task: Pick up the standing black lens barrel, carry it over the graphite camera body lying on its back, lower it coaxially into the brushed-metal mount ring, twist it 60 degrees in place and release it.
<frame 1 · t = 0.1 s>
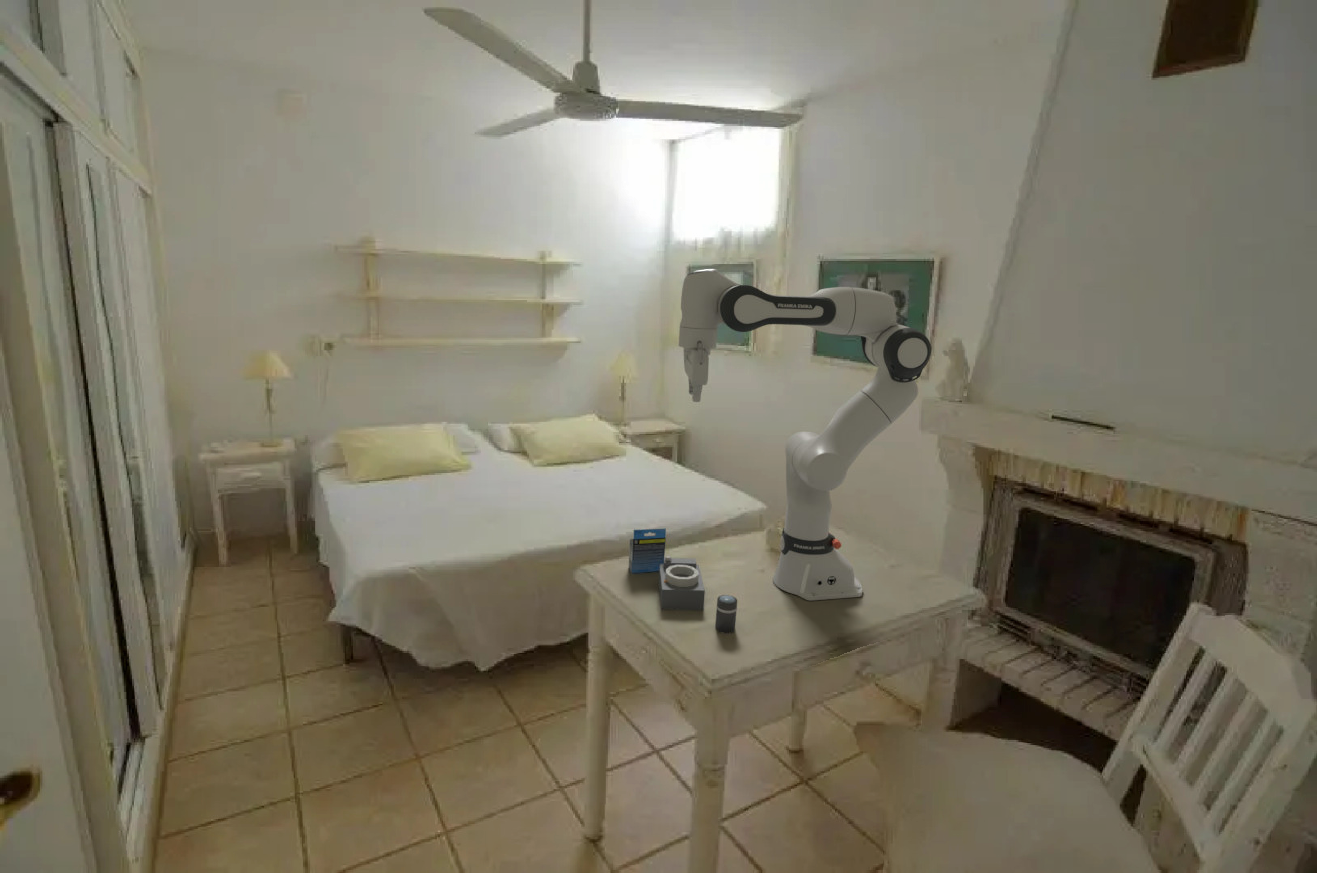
hand: (694, 397, 159), 48 cm above the table, fingers open, 8 cm apart
lens: (725, 628, 148), on the table
camera body: (680, 595, 162), on the table
label tape box: (646, 570, 176), on the table
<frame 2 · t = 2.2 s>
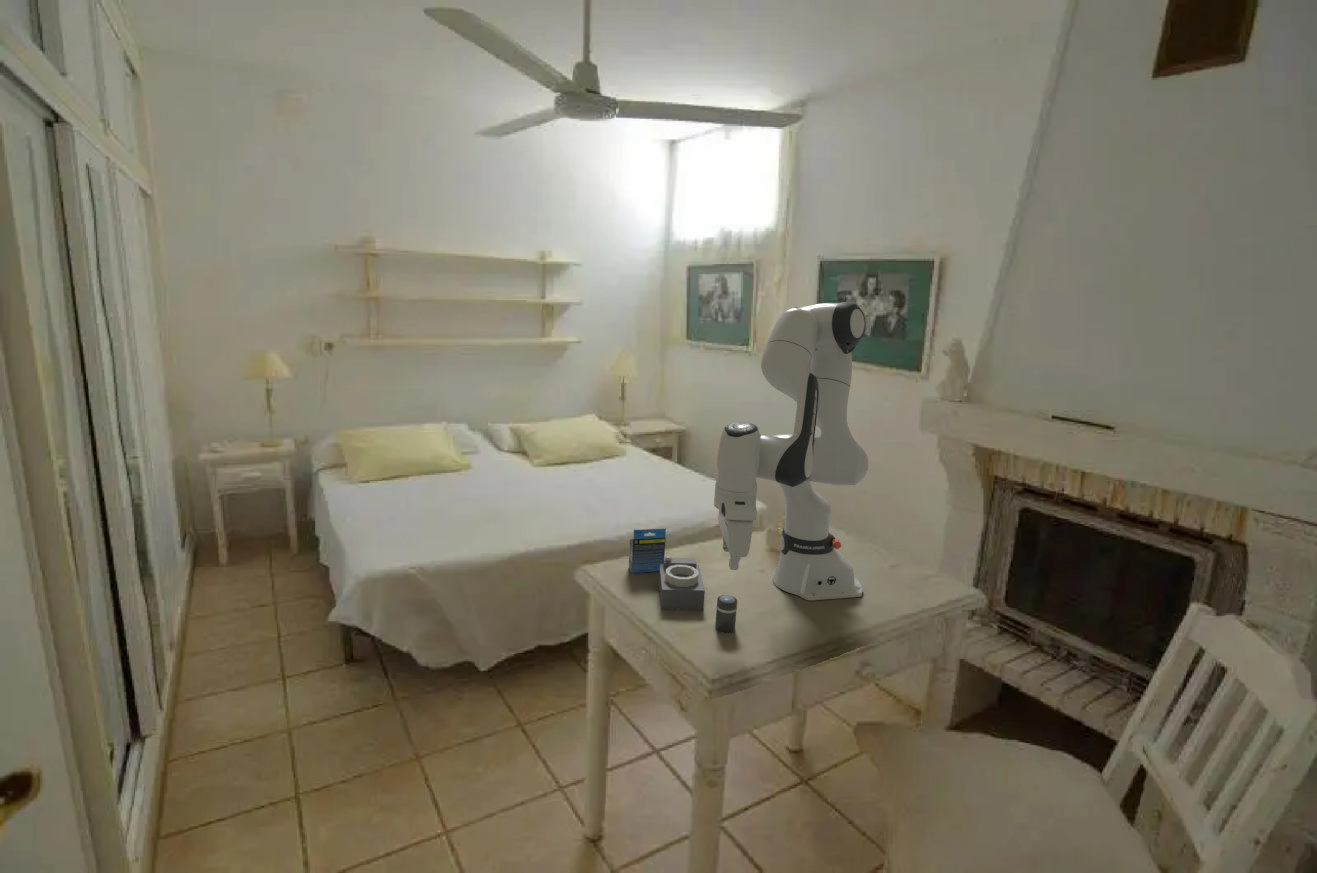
hand: (730, 559, 144), 17 cm above the table, fingers open, 8 cm apart
nothing on the table moved.
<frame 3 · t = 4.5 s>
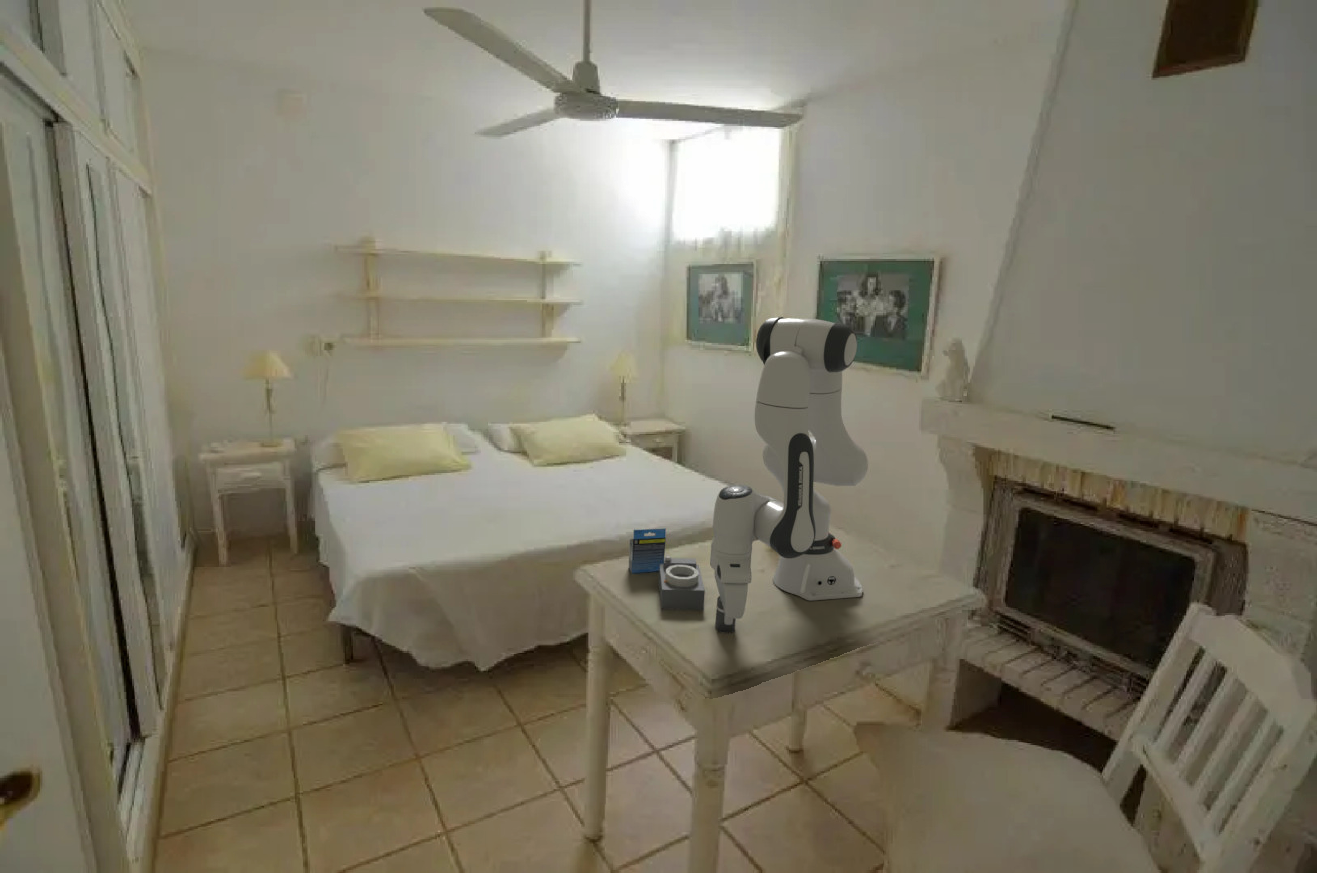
hand: (726, 616, 148), 3 cm above the table, fingers closed on lens, 4 cm apart
lens: (724, 628, 148), on the table, touching gripper
everything else where it was.
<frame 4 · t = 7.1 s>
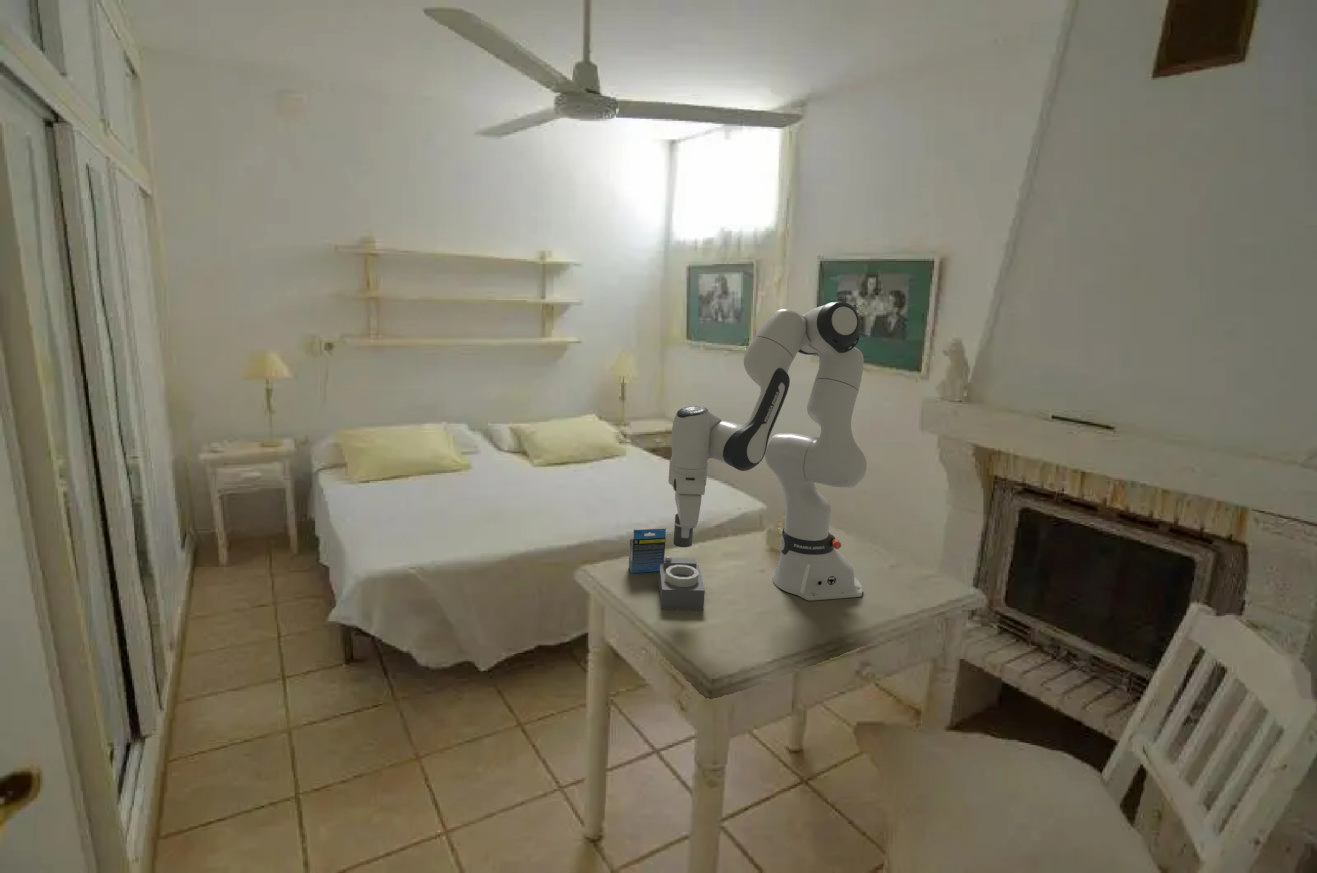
hand: (683, 532, 157), 17 cm above the table, fingers closed on lens, 4 cm apart
lens: (682, 543, 157), point 14 cm above the table, touching gripper
everything else where it was.
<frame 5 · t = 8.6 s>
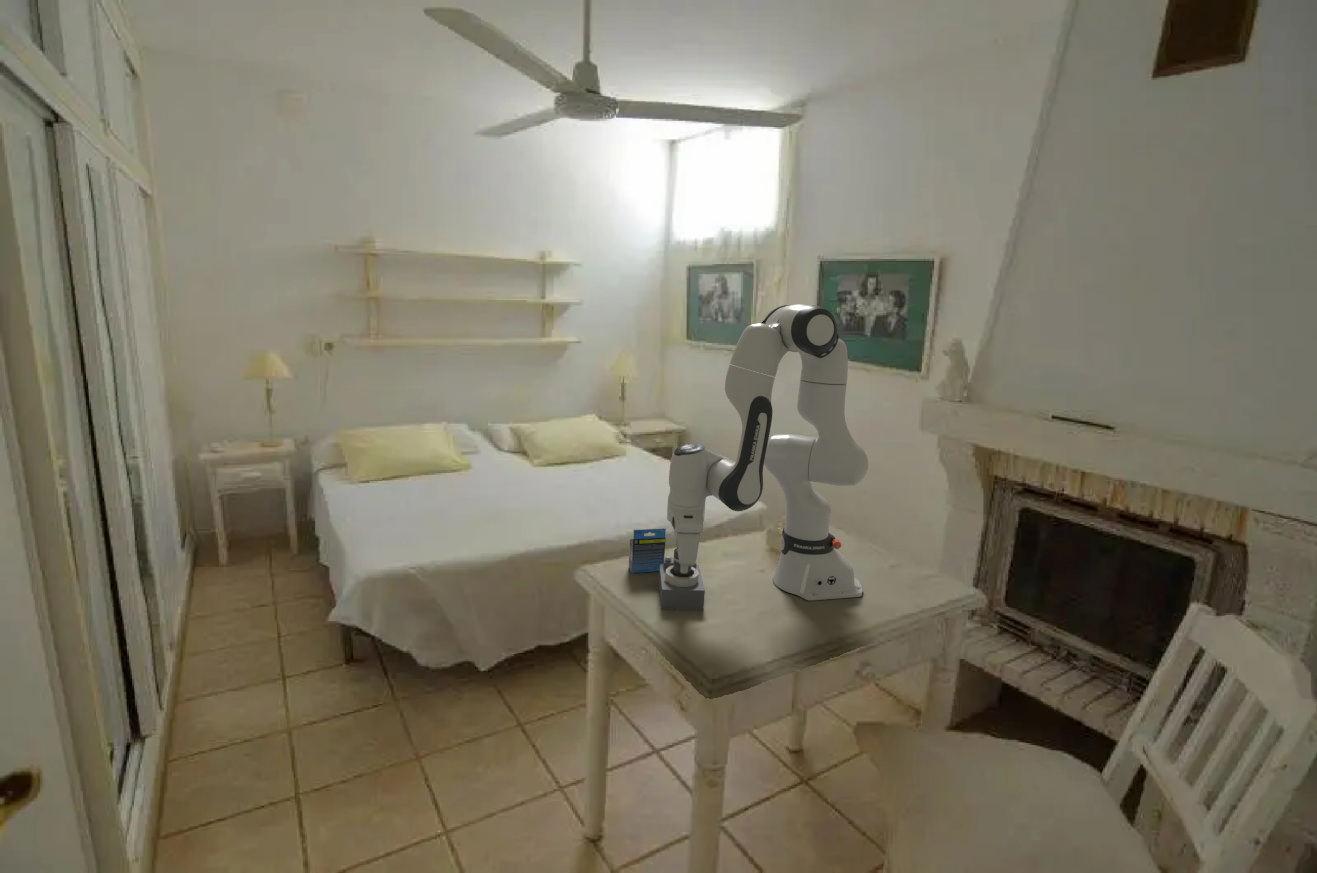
hand: (682, 566, 159), 8 cm above the table, fingers closed on lens, 4 cm apart
lens: (681, 578, 160), point 5 cm above the table, touching gripper
everything else where it was.
when the fingers open (8 cm above the table, at t = 10.0 s): lens stays where it is, resting on camera body.
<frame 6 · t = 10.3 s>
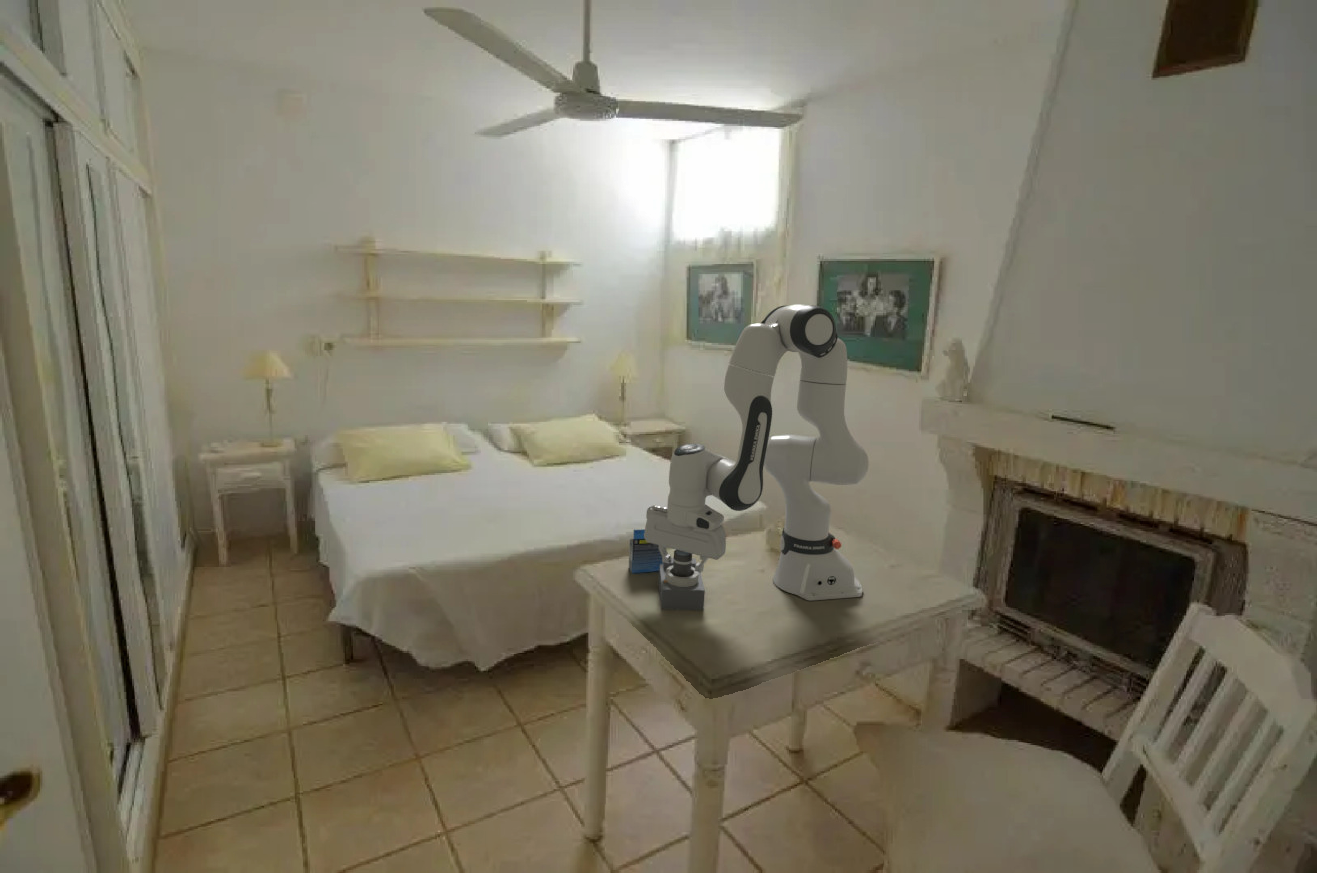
hand: (682, 566, 159), 8 cm above the table, fingers open, 7 cm apart
lens: (681, 579, 160), point 5 cm above the table, touching camera body
everything else where it was.
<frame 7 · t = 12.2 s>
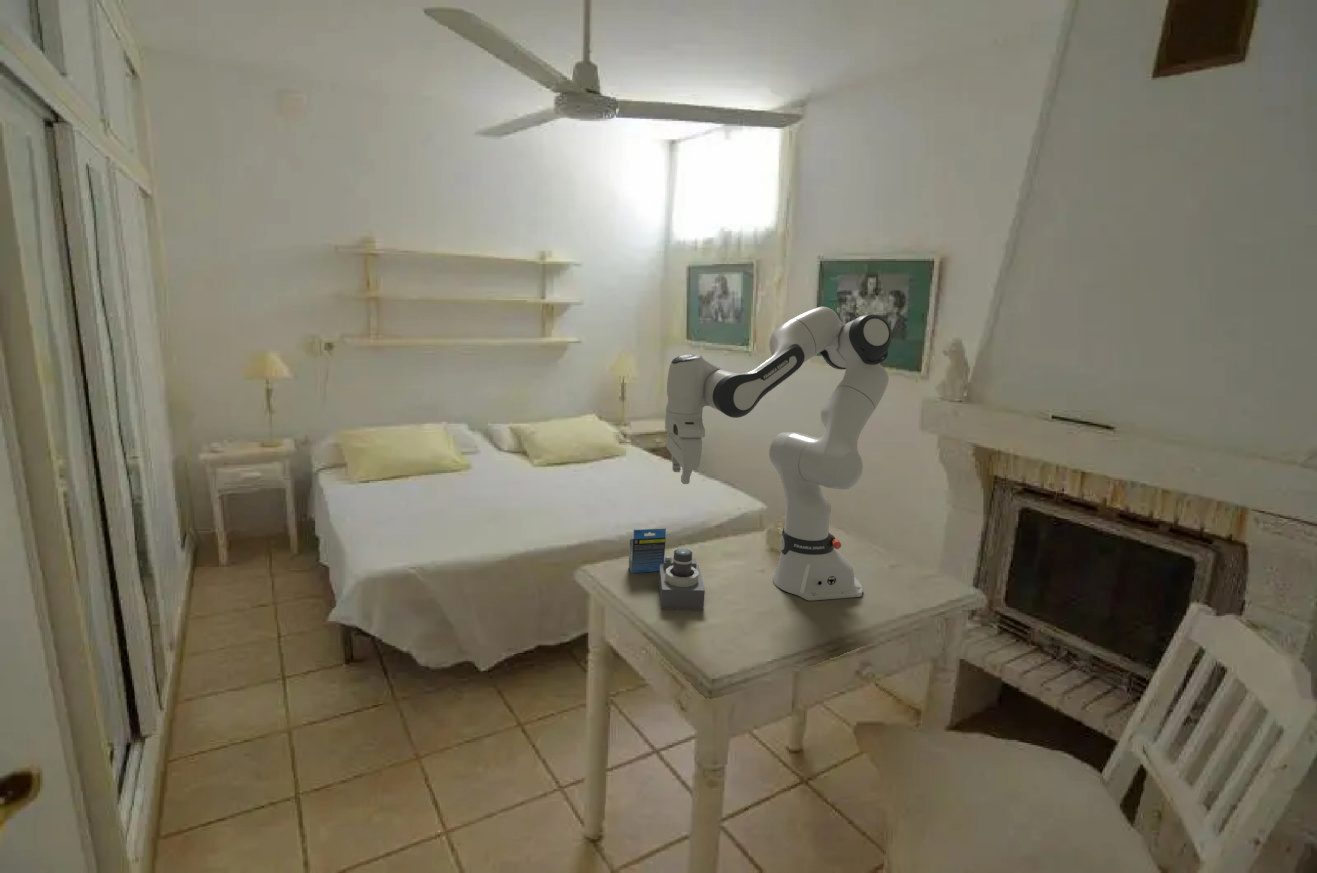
hand: (680, 477, 163), 28 cm above the table, fingers open, 8 cm apart
nothing on the table moved.
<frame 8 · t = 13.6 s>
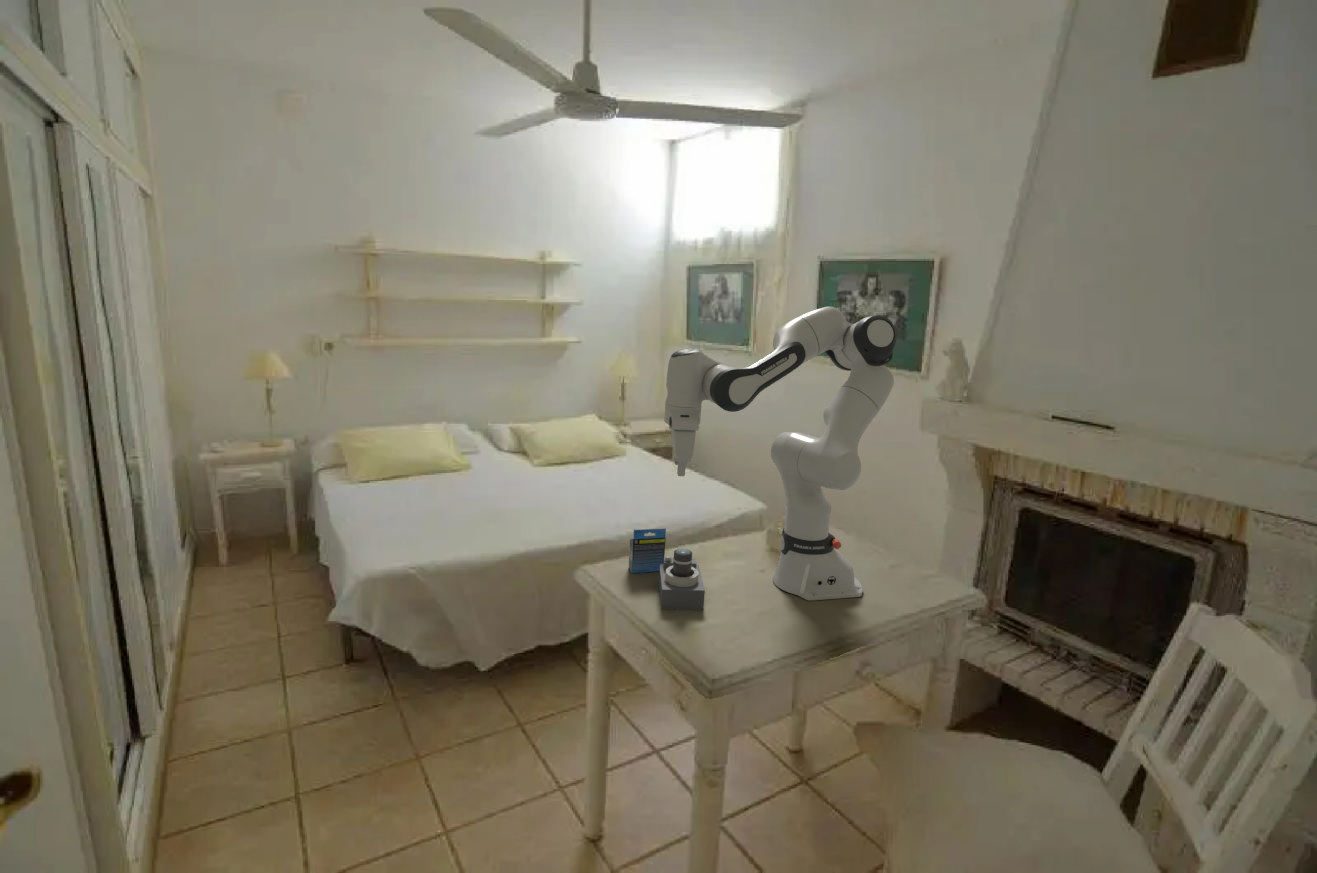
hand: (679, 469, 165), 29 cm above the table, fingers open, 8 cm apart
nothing on the table moved.
at the end: lens 0.1 cm from the target spot on the camera body, point 5.0 cm above the camera body's base; lens tilted 0°; the gripper is holding nothing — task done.
